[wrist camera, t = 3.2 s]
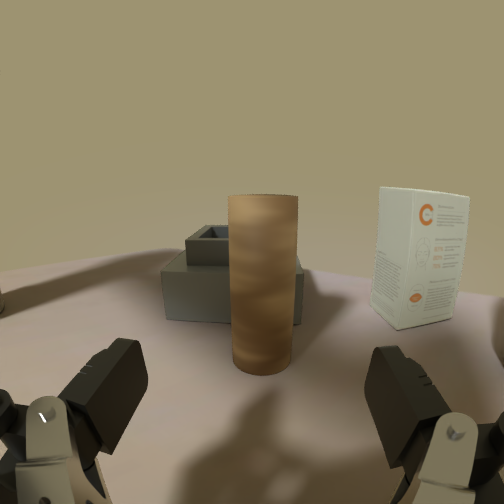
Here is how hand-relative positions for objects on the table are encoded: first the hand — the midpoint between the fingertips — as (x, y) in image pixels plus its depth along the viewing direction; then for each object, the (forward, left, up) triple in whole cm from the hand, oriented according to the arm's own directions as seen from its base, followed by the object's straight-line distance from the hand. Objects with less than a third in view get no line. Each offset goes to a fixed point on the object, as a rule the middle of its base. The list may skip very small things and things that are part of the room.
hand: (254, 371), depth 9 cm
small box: (+16, +18, -7) cm, 25 cm away
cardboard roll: (0, +10, -7) cm, 13 cm away
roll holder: (-3, +22, -7) cm, 24 cm away
